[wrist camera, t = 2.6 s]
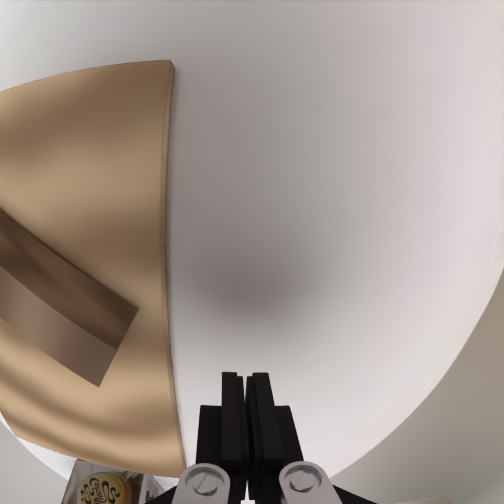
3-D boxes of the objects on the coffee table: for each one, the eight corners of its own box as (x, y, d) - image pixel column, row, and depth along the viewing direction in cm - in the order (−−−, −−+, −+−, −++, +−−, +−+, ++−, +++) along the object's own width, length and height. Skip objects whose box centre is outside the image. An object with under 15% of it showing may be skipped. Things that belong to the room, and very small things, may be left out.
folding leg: (-50, 212, 12) (-86, 224, 8) (-40, 167, 12) (-79, 173, 8) (118, 348, 16) (97, 391, 12) (141, 305, 15) (119, 345, 11)
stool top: (-47, 117, 12) (-59, 117, 10) (175, 68, 13) (170, 59, 12) (20, 427, 20) (15, 435, 19) (186, 466, 22) (185, 478, 21)
